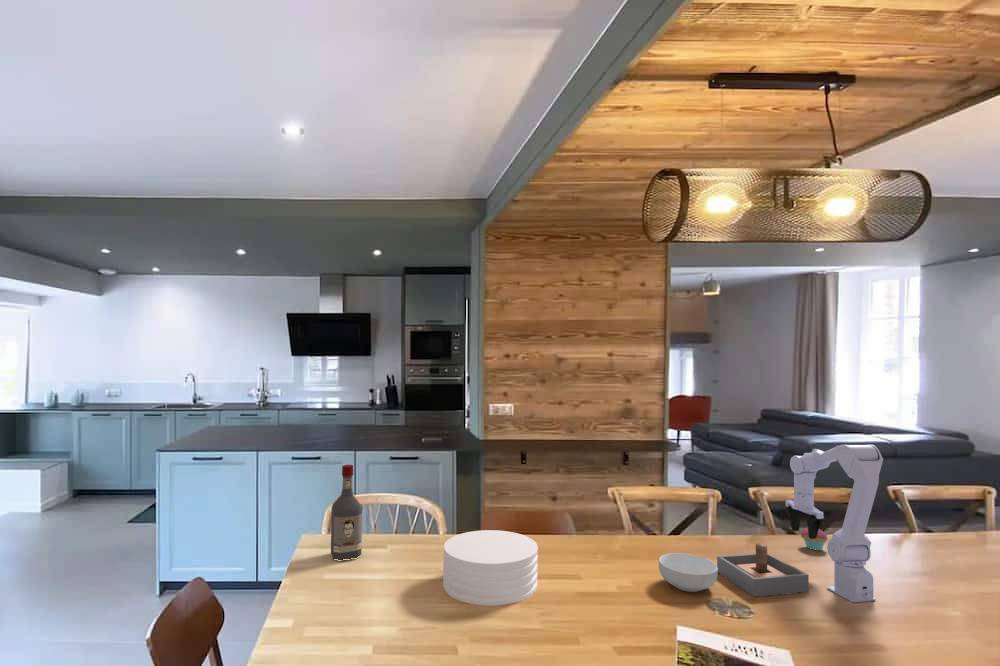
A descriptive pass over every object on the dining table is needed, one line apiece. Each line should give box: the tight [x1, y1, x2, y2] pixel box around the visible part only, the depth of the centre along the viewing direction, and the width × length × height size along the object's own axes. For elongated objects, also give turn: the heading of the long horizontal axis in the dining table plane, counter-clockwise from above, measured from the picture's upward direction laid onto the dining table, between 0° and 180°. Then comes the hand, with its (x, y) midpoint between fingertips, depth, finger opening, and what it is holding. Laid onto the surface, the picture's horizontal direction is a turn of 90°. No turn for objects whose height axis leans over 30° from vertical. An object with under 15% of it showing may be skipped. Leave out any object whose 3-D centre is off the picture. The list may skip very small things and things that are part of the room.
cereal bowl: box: [658, 552, 719, 593], centre depth 166 cm, size 17×17×7 cm
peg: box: [755, 542, 768, 574], centre depth 170 cm, size 3×3×10 cm
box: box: [716, 552, 810, 598], centre depth 170 cm, size 18×18×5 cm
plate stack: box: [442, 529, 539, 606], centre depth 166 cm, size 28×28×12 cm
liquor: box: [330, 464, 363, 560], centre depth 187 cm, size 9×9×30 cm
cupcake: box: [799, 527, 828, 551], centre depth 199 cm, size 9×8×12 cm
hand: (803, 534), depth 182 cm, fingers open, 7 cm apart
